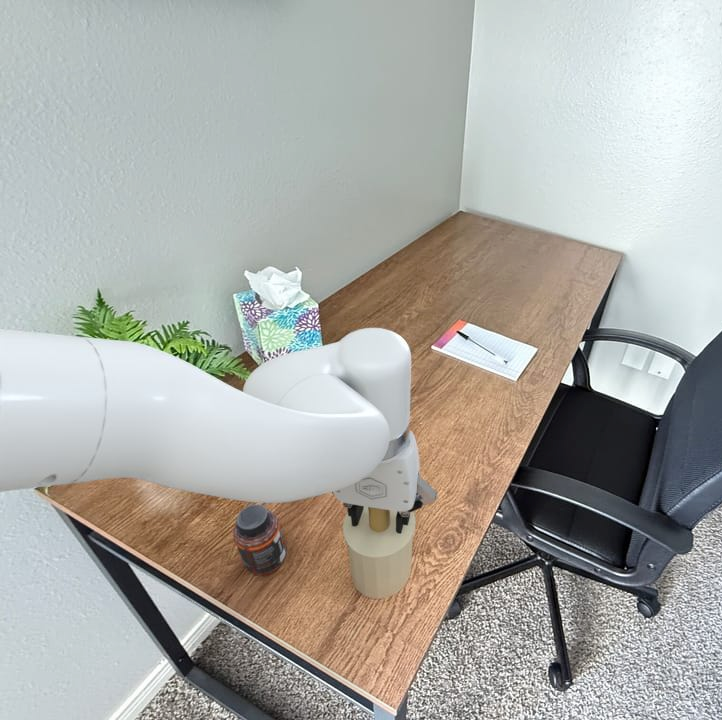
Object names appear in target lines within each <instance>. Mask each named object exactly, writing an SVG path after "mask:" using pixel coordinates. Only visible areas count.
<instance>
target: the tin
mask: <svg viewBox="0 0 722 720" xmlns="http://www.w3.org/2000/svg"><path fill="white" fill-rule="evenodd" d="M413 537H414V535H413V536H412V538H411V540H410V542H409V543H408V544H407V545H406V546H405V547H404V548H403V549H402V550H401V551H399V552H398V553H396V554H394V555H392V556H389V557H386V558H380V559H372V558H366V557H363V556H361V555H358V554H357V553H355V552H354V551H353V550H351V548H350V547H349V546H348V545H347V552H348V561H349V568H350V569H349V570H350V577H351V581H352V584H353V586H354V588H355V590H357V592H359V594H361V595H363V596H364V597H366V598H369V599H373V600H383V599H387V598H391V597H393V596H395V595H396V594H398V593H399V592H400V591H402V590H403V589H404V587H405V586H406V585H407V583H408V581H409V579H410V576H411V571H412V566H413V565H412V564H413V563H412V562H413V539H414V538H413Z"/></svg>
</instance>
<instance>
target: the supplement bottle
mask: <svg viewBox="0 0 722 720" xmlns="http://www.w3.org/2000/svg"><path fill="white" fill-rule="evenodd" d="M232 531H233V532H232V536H233V539H234V540H233V541H234V543H235V545H236V548H237V550H238V552H239V555H240V557H241V560H242V563H243V564H244V567H245V568H246V570H247V572H248V573H250V574H251V575H254V576H259V577H261V576H262V577H263V576H266V575H267V576H268V575H270V574H272V573H274V572H275V571H277V570H278V569H279V568H281V566H282V565H283V563H284V562H285V560H286V557H287V547H286V543H285V540H284V536H283V533H282V529H281V526H280V523H279V519H278V517H277V515H276V514H275V513H273V511H271V510H269V509H267V508H266V507H265V506H264V505H262V504H259V503H254V504H250V505H248V506H246V507H244V508H242V509H241V510H240V511H239V513H238V514H237V516H236V523H235V524H234V526H233V530H232Z"/></svg>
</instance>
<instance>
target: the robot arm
mask: <svg viewBox="0 0 722 720" xmlns="http://www.w3.org/2000/svg"><path fill="white" fill-rule="evenodd" d="M411 386H412V352H411V349H410V346H409V344H408V343H407V341H406V340H405V339H404V338H403V337H402V336H401V335H400V334H398V333H397V332H394V331H393V330H389V329H387V328H380V327H365V328H360V329H356V330H354V331H352V332H350V333H348V334H346V335H345V336H343V337H342V338H341V339H340V340H339V341H335V342H332V343H328V344H325V345H319V346H316V347H311V348H306V349H301V350H297V351H291V352H289V353H284V354H281V355H279V356H276V357H275V356H274V357H273V358H271V359H269V360H267V361H265V362H263V363H262V364H260V365H259V366H258V367H256V368H255V369H253V371H252V372H251V373H250V374H249V376H248V377H247V379H246V380H245V382H244V385H243V389H242V390H240V389H237V388H235V387H234V386H232V385H229V384H228V383H227V382H224V381H222V380H221V379H219V378H217V377H215V376H213V375H212V374H210V373H208V372H207V371H205V370H203V369H201V368H199V367H197V366H196V365H194V364H191V363H190V362H188V361H186V360H184V359H182V358H179V357H177V356H176V355H173V354H171V353H168V352H165V351H163V350H161V349H158V348H156V347H153V346H152V345H151V346H150V345H147V344H144V343H140V342H136V341H129V340H119V339H108V338H107V339H106V338H96V337H88V336H81V335H80V336H79V335H75V336H74V335H67V334H58V333H46V332H37V331H30V330H29V331H28V330H20V329H11V328H10V329H8V328H0V493H4V492H11V491H20V490H27V489H35V488H44V487H52V486H61V485H69V484H70V485H71V484H77V483H78V484H79V483H85V482H86V483H87V482H93V481H101V480H110V479H111V480H112V479H125V478H126V479H137V480H141V481H145V482H148V483H152V484H155V485H158V486H162V487H166V488H170V489H173V490H179V491H182V492H187V493H188V492H189V493H193V494H200V495H205V496H212V497H216V498H222V499H226V500H232V501H240V502H246V503H254V504H284V503H291V502H297V501H302V500H307V499H310V498H314V497H315V498H316V497H319V496H324V495H327V494H331V493H332V495H333V496H334V498H335V499H336V500H337V501H339V502H341V503H342V506H343V507H344V508H347V509H346V510H347V512H348V516H351V522H352V526H355V527H356V526H358V524H359V521H360V518H361V515H362V512H363V509H364V506H365V507H371V508H378V509H384V510H391V511H397V515H396V532H397V533H399V534H401V532H402V529H403V525H408V523H409V519H410V512H412V511H413V512H415V511H417V510H421V508H422V507H423V506H427V505H430V504H433V503H435V502H436V500H437V495H438V491H437V490H436V489H435V488H433V487H432V486H431V485H430V484H429V483H428V482H427V481H426V480H425V479H424V478H422V477H421V463H420V454H419V453H420V452H419V449H418V448H419V447H418V444H417V440H416V436H415V434H414V432H413V431H412V430H410V429H411V427H410V426H411V390H412V389H411V388H412V387H411Z"/></svg>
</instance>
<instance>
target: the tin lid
mask: <svg viewBox="0 0 722 720" xmlns="http://www.w3.org/2000/svg"><path fill="white" fill-rule="evenodd" d="M396 515H397V511H391V510H384V509H378V508H371V507H365V506H364V509H363V512H362V515H361V518H360V521H359V524H358V526H356V527H355V526H352V522H351V516H348V511H347V513H346V514H345V517H344V519H343V523H342V534H343V538H344V541H345V543H346V544H347V545H346V546H347V547H348V546H349V547H350V548H351V550H353V551H354V552H355V553H357V554H358V555H361V556H363V557H366V558H372V559H380V558H386V557H389V556H392V555H394V554H396V553H398V552H399V551H401V550H402V549H403V548H404V547H405V546H406V545H407V544H408V543H409V542H410V540H411V538H412V536H413V537H414V534H415V531H416V524H417V523H416V521H417V520H416V514H415V511H412V512H410V519H409V523H408V525H403V529H402V532H401V534H399V533H397V532H396Z"/></svg>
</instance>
